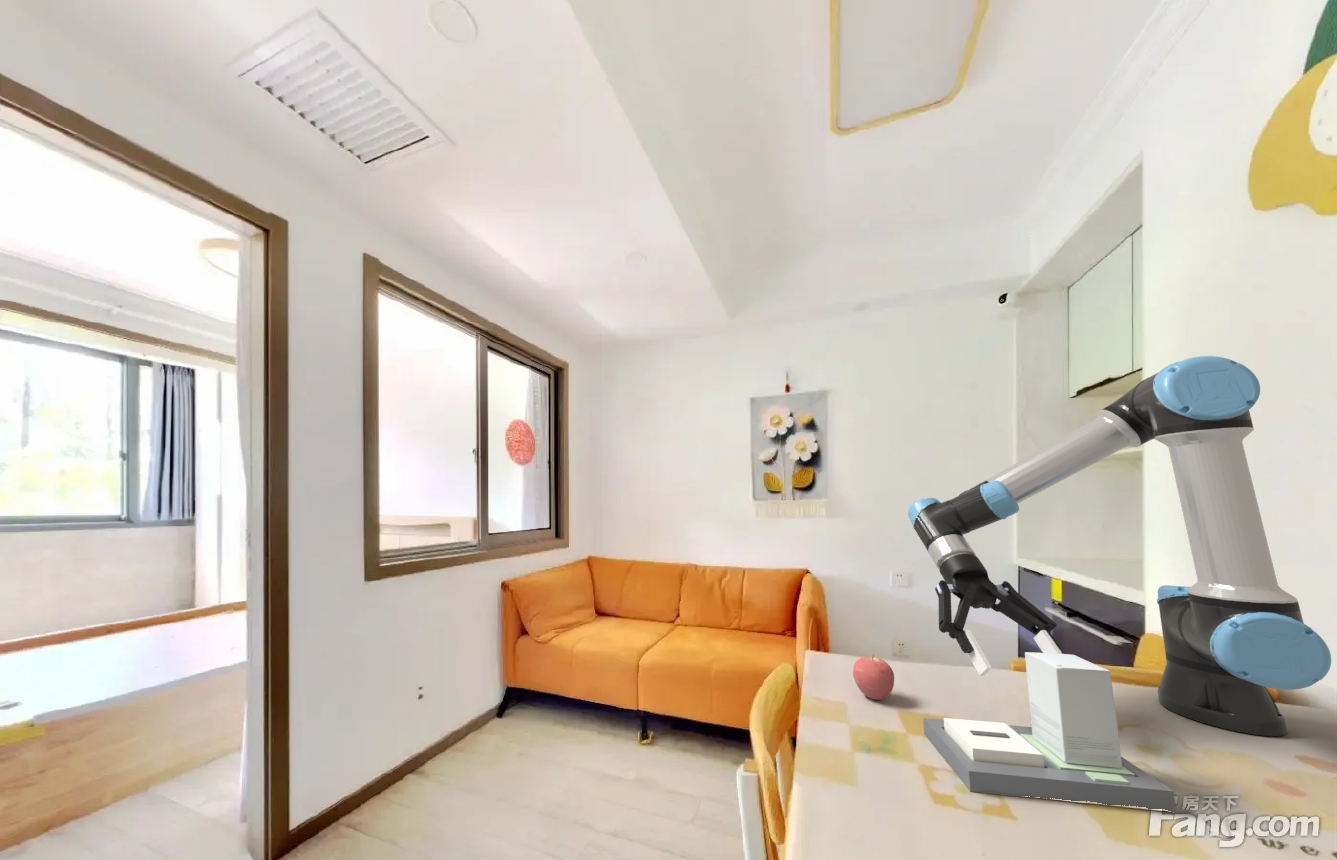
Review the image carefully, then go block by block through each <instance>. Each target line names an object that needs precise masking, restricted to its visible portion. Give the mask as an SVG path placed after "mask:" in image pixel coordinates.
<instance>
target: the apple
mask: <svg viewBox="0 0 1337 860" xmlns="http://www.w3.org/2000/svg"><path fill="white" fill-rule="evenodd" d="M852 669H853V670H852V675H853V679H854V682H855V684H856V686H857V687H858V689H859V690H860V692H861V693H862V694H863V695H864V696H865V697H867V698H869V699H873V700H877V701H878V700H879V701H880V700H884V699H886V698H887V697H889V695H890V694H891V693H892V691H893V689H894V685H895V674H894V671H893V669H892V667H891V666H890V665H889V663H887V662H886V661H885V660H884V659H882V658H879V657H875V654H872V656H862V657H860V658H858V659H856V661H855V662H854V664H853V668H852Z"/></svg>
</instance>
